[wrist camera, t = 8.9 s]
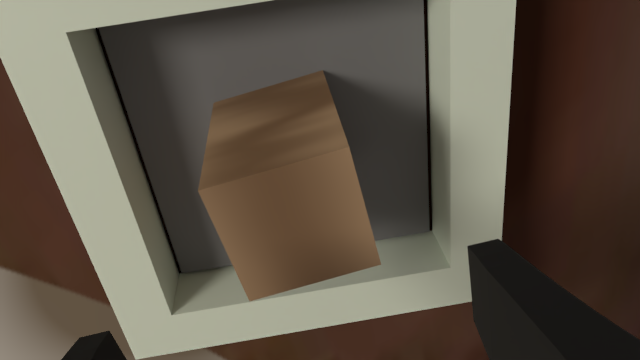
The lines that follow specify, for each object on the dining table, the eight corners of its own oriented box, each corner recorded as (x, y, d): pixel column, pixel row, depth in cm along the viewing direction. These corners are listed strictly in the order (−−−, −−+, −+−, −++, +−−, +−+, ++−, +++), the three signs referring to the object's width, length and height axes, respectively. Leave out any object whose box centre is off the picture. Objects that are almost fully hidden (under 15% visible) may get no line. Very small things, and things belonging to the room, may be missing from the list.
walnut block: (322, 70, 18) (349, 146, 13) (349, 165, 21) (381, 264, 15) (213, 102, 19) (197, 191, 13) (250, 194, 21) (249, 301, 16)
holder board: (488, -119, 16) (523, -118, 14) (476, 258, 24) (498, 296, 22) (-1, -45, 16) (-40, -33, 14) (146, 315, 24) (135, 359, 21)
